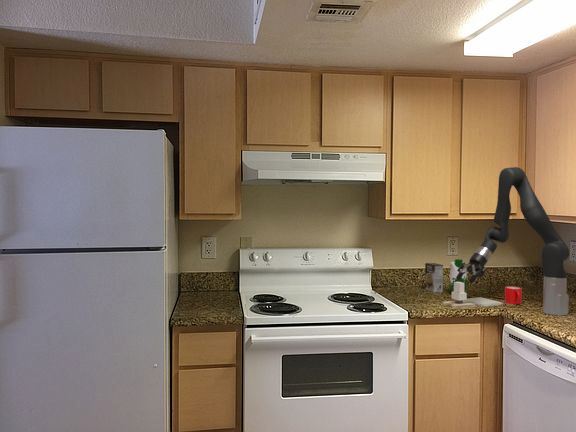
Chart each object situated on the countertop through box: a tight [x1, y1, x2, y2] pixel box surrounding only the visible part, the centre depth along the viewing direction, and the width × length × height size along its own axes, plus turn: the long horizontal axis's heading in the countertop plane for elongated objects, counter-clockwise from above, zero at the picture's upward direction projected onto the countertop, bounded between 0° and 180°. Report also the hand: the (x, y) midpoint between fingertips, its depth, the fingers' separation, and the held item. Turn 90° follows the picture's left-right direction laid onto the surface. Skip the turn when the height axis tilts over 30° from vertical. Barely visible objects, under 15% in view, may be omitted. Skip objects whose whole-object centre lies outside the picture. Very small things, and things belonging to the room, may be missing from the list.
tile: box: [463, 296, 503, 307], centre depth 225 cm, size 14×12×1 cm
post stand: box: [442, 292, 477, 310], centre depth 219 cm, size 11×11×7 cm
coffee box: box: [424, 262, 444, 293], centre depth 257 cm, size 9×6×16 cm
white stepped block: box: [451, 282, 468, 301], centre depth 219 cm, size 5×5×8 cm
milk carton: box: [449, 258, 468, 294], centre depth 247 cm, size 9×9×20 cm
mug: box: [504, 285, 523, 305], centre depth 223 cm, size 8×12×8 cm, turn 177°
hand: (463, 280), depth 220 cm, fingers open, 8 cm apart
